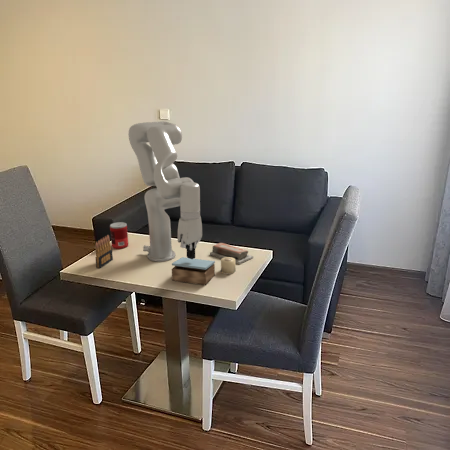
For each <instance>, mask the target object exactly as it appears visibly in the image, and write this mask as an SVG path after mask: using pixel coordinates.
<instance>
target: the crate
mask: <svg viewBox="0 0 450 450" xmlns="http://www.w3.org/2000/svg"><path fill="white" fill-rule="evenodd" d="M215 265H216V264H215V263H214V264H213V265H211V266H210V267H209V268H207V269H206V270H204V269H196V268H189V267H181V266H173V267H172V268H171V278H172V280H171V281H173V282H179V283H185V284H187V283H188V284H193V285H194V284H195V285H201V286H207V285H208V284H209V282H210V281H211V280H212V279H213V278H214V277H215V273H216V271H215V267H216V266H215Z"/></svg>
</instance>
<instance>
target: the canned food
mask: <svg viewBox="0 0 450 450" xmlns="http://www.w3.org/2000/svg"><path fill="white" fill-rule="evenodd" d="M109 231H110V232H109V233H110V244H111V247H112V248H113V249H116V250H122V249H126V248H128V247H129V235H128V234H129V233H128V225H127V223H126V222H123V221H121V222H120V221H118V222H113V223H110V224H109Z"/></svg>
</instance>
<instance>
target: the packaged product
mask: <svg viewBox="0 0 450 450" xmlns="http://www.w3.org/2000/svg"><path fill="white" fill-rule="evenodd" d="M209 256H212V257H215V258H218V259H222V258H224V257H232V258H235V265H236V264H237V265H242V264H244V263H246V262H248V261H250V260H253V259H254V256H253V255H250V254H249V250H246V249H243V248H240V247H236V246H234V245H230V244H227V243H225V242H219V243H217V244H214V245H212V250H211V251H210V252H209Z"/></svg>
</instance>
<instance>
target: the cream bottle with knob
mask: <svg viewBox="0 0 450 450" xmlns="http://www.w3.org/2000/svg"><path fill="white" fill-rule="evenodd" d="M220 272H221V274H227V275H229V274H234V273H235V272H236V263H235V258H232V257H224V258H222V259H221V260H220Z"/></svg>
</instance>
